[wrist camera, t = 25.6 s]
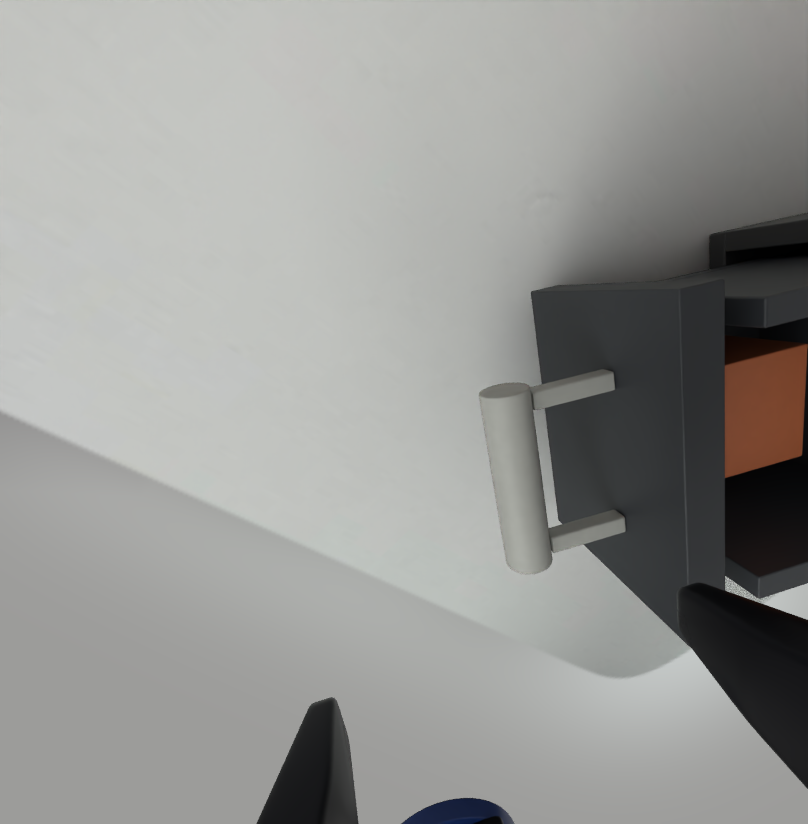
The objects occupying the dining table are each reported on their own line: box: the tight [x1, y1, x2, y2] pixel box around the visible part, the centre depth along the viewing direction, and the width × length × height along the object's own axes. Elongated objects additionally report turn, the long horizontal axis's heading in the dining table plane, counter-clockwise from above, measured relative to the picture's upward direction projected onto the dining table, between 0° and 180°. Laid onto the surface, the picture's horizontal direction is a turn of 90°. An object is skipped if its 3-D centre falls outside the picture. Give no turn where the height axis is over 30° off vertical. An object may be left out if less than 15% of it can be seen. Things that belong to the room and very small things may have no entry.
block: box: [725, 335, 808, 478], centre depth 17 cm, size 4×4×4 cm
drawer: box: [479, 254, 808, 646], centre depth 16 cm, size 14×10×8 cm
